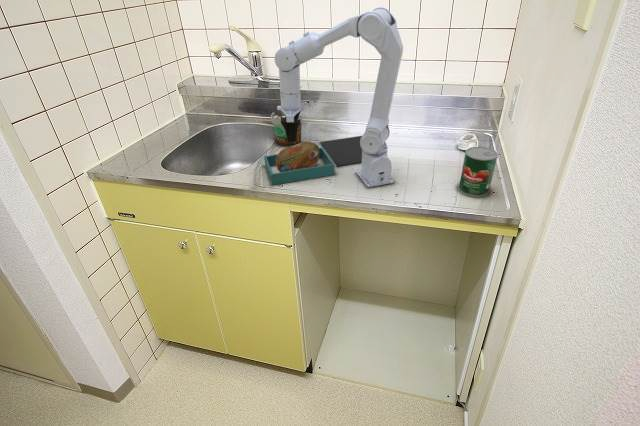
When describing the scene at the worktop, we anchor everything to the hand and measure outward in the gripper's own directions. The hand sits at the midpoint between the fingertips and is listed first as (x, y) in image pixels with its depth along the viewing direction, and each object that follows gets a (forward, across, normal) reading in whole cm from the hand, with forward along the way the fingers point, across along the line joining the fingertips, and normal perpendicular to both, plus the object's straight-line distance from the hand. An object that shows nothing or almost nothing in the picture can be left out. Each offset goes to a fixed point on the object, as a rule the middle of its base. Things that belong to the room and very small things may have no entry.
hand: (292, 136), depth 115 cm
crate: (+10, +3, +2) cm, 11 cm away
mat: (+9, -9, +19) cm, 23 cm away
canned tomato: (+8, +20, +50) cm, 55 cm away
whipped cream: (+8, -7, +58) cm, 59 cm away
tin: (+10, +3, +2) cm, 11 cm away
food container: (+11, -18, -4) cm, 21 cm away
